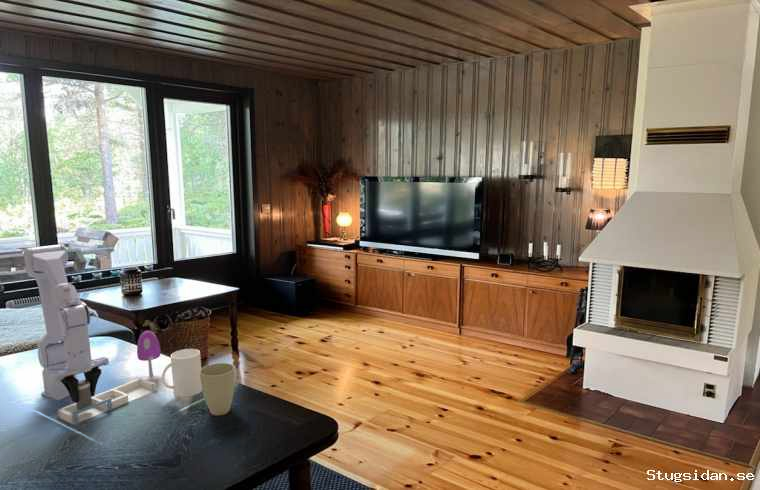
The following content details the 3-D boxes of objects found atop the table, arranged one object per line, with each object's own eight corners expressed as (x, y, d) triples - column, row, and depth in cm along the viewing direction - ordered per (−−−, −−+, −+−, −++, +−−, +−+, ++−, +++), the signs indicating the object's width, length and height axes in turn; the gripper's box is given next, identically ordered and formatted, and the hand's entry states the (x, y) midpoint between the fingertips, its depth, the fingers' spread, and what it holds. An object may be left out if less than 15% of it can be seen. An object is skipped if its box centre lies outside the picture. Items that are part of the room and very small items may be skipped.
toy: (166, 374, 168) (163, 329, 166) (148, 382, 162) (143, 335, 160) (154, 370, 172) (150, 326, 169) (135, 377, 166) (130, 332, 164)
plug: (74, 408, 141) (71, 383, 140) (88, 403, 144) (85, 378, 143) (81, 411, 139) (78, 386, 138) (95, 406, 142) (92, 381, 141)
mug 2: (246, 409, 144) (244, 367, 142) (213, 422, 136) (210, 379, 135) (225, 397, 151) (222, 357, 149) (192, 409, 144) (189, 368, 142)
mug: (169, 405, 147) (166, 364, 145) (157, 396, 153) (153, 357, 151) (209, 391, 155) (206, 353, 153) (195, 383, 161) (192, 346, 159)
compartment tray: (58, 419, 140) (56, 405, 139) (141, 386, 160) (140, 373, 159) (75, 427, 135) (73, 413, 135) (158, 392, 155) (157, 379, 155)
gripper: (56, 362, 131) (63, 413, 133) (112, 344, 143) (117, 391, 145) (42, 356, 135) (49, 406, 137) (98, 340, 147) (103, 386, 149)
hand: (83, 398), depth 141 cm, fingers closed on plug, 4 cm apart
